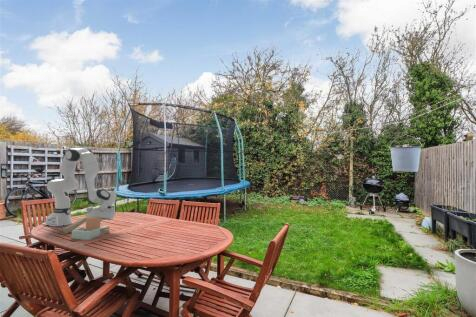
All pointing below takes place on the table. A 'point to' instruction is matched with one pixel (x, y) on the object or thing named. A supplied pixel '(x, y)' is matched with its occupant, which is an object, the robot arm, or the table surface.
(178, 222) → the table surface
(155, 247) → the table surface
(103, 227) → the board
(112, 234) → the table surface
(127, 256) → the table surface
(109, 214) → the robot arm
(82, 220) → the hammer
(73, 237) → the box
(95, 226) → the block
